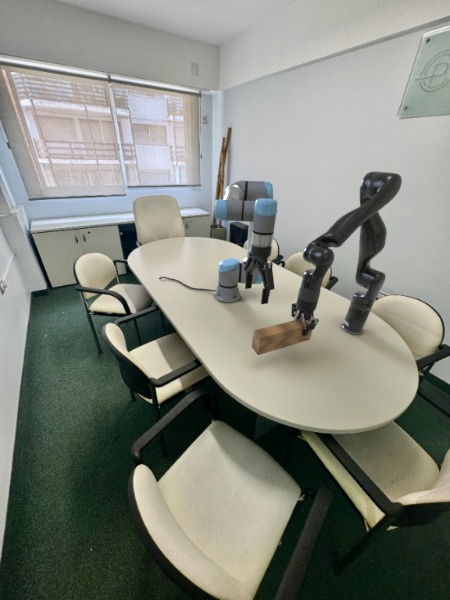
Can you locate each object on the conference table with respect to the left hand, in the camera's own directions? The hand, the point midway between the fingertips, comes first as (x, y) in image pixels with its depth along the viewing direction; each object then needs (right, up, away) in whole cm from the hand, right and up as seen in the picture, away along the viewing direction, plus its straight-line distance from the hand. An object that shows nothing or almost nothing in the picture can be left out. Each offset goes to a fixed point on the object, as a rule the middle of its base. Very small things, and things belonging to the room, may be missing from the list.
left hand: (255, 295), depth 99 cm
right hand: (+19, -15, +2) cm, 24 cm away
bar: (+11, -20, +1) cm, 23 cm away
